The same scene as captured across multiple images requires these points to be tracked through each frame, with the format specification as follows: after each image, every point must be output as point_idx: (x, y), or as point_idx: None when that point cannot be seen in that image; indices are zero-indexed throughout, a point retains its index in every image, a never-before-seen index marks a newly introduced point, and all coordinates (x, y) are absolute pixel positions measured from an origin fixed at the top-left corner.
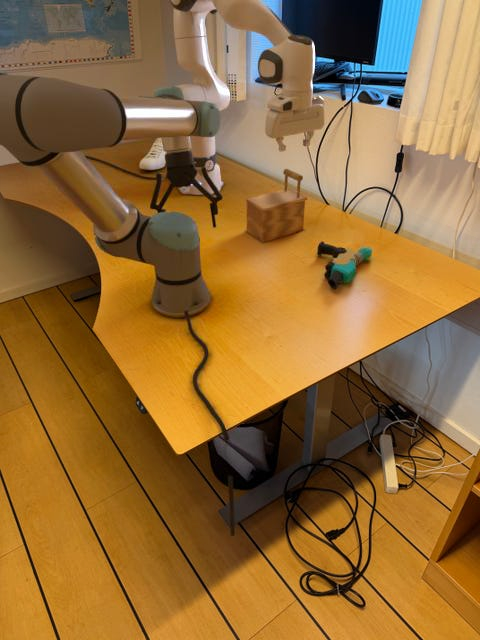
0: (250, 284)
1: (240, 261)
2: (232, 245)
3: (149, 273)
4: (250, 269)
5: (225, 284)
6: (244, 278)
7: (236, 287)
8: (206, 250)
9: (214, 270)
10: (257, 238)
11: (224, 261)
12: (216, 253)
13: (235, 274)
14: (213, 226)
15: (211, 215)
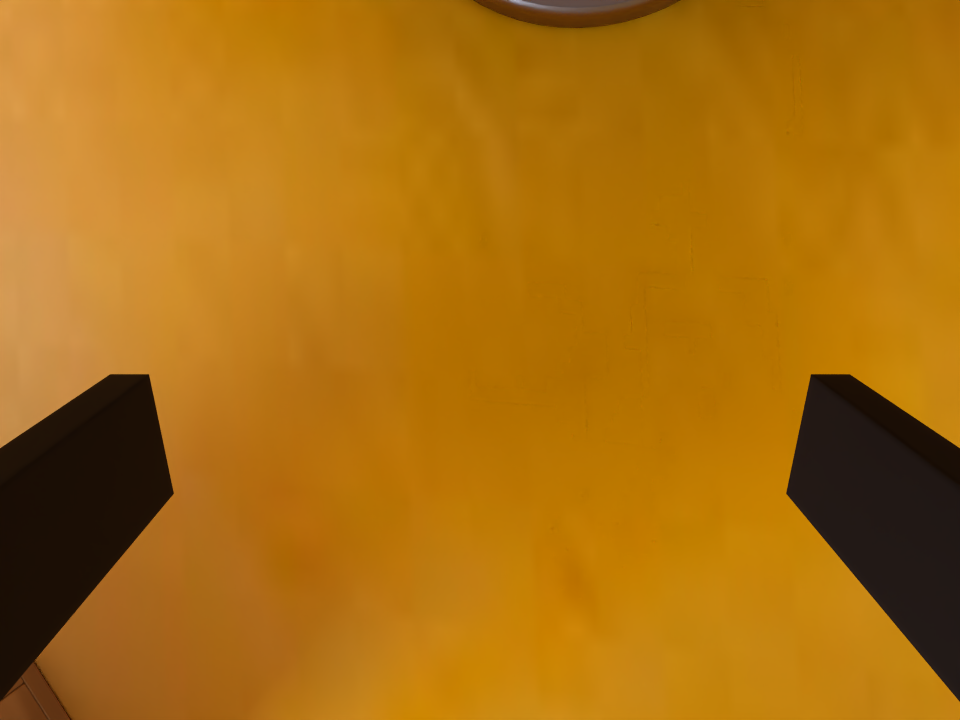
0: (99, 57)
1: (175, 393)
2: (236, 636)
3: (870, 252)
4: (104, 272)
5: (270, 61)
6: (141, 144)
7: (192, 16)
8: (424, 582)
9: (355, 272)
10: (65, 713)
11: (287, 402)
12: (348, 528)
13: (204, 205)
14: (133, 383)
15: (23, 467)
